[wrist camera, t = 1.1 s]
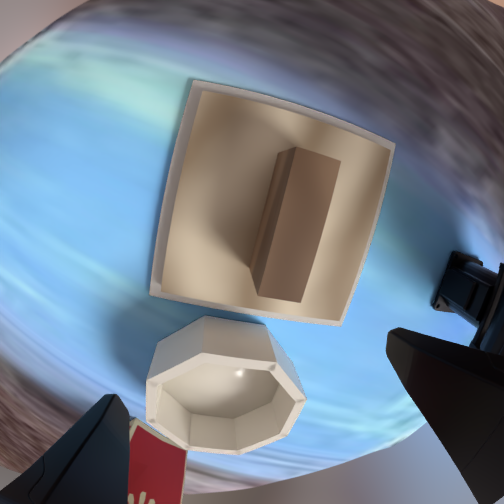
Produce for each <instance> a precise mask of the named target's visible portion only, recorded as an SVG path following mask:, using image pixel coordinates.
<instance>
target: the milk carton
mask: <svg viewBox="0 0 504 504" xmlns="http://www.w3.org/2000/svg"><path fill="white" fill-rule="evenodd" d="M129 431H130V462H129V479H128V504H182V497H183V490H184V482H185V474H186V463H187V453H188V450H185V449H184V448H182V447H181V446H179V445H178V444H176V443H175V442H173V441H172V440H171V439H169V438H166V437H164V436H163V435H161V434H160V433H158V432H156V431H155V430H153V429H152V428H150V427H149V426H147V425H146V424H145V423H143V422H142V421H140V420H139V419H137V418H135V419H133V420H131V421H130V422H129Z"/></svg>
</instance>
